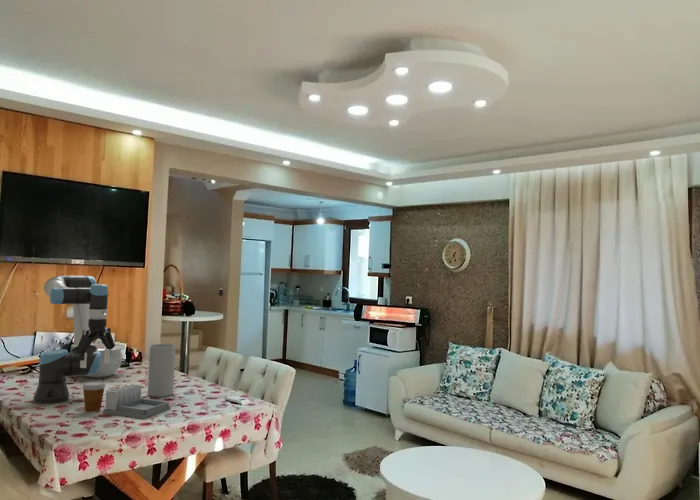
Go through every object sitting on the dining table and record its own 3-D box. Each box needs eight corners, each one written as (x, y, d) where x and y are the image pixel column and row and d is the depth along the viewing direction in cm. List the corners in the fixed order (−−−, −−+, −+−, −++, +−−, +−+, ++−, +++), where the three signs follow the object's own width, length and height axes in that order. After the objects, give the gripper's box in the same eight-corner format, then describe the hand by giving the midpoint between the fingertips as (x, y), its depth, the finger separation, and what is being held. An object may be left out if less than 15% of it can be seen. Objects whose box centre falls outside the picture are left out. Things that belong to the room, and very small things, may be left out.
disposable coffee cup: (95, 413, 239) (96, 386, 239) (76, 411, 241) (77, 384, 241) (108, 408, 248) (110, 382, 249) (90, 406, 250) (91, 380, 251)
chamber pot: (111, 381, 305) (113, 344, 306) (63, 379, 306) (65, 342, 306) (132, 371, 333) (133, 338, 334) (87, 370, 334) (89, 336, 334)
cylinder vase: (143, 394, 278) (145, 345, 279) (165, 390, 287) (167, 343, 288) (154, 398, 269) (157, 348, 270) (177, 395, 278) (180, 346, 279)
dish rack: (170, 409, 250) (171, 388, 251) (142, 418, 233) (143, 396, 234) (132, 403, 258) (133, 383, 258) (103, 412, 241) (104, 391, 242)
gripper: (81, 320, 233) (79, 370, 232) (124, 317, 256) (122, 362, 256) (68, 319, 236) (65, 368, 235) (112, 316, 259) (109, 360, 258)
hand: (95, 365), depth 245 cm, fingers open, 13 cm apart
